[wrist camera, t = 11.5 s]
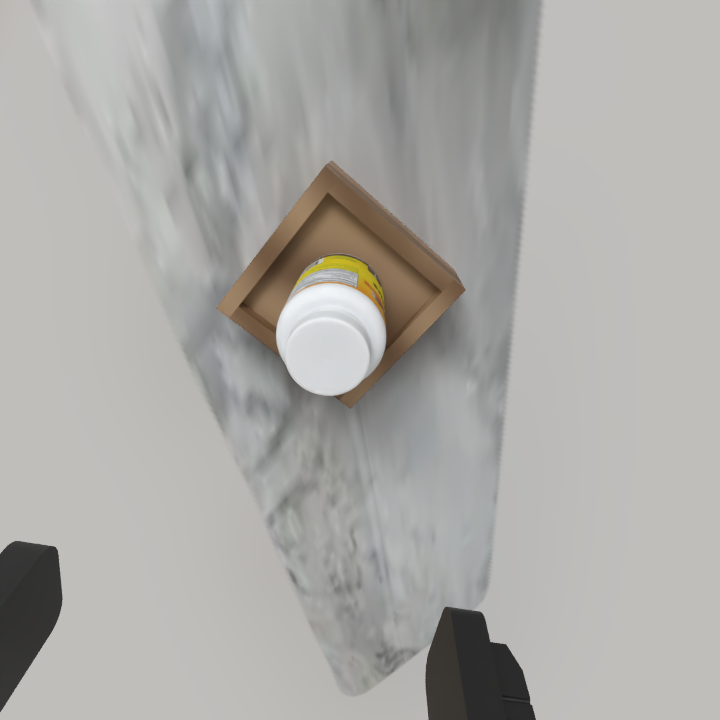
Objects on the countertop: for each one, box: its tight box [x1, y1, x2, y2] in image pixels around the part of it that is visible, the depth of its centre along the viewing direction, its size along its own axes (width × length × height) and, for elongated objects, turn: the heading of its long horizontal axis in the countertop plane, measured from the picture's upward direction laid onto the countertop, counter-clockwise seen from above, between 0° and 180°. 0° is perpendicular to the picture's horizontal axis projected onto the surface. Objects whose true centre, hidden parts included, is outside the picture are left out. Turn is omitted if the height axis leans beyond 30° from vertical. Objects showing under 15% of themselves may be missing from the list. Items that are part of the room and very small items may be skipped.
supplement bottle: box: [276, 253, 386, 396], centre depth 28 cm, size 6×6×10 cm
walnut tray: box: [216, 161, 465, 409], centre depth 34 cm, size 11×11×5 cm
